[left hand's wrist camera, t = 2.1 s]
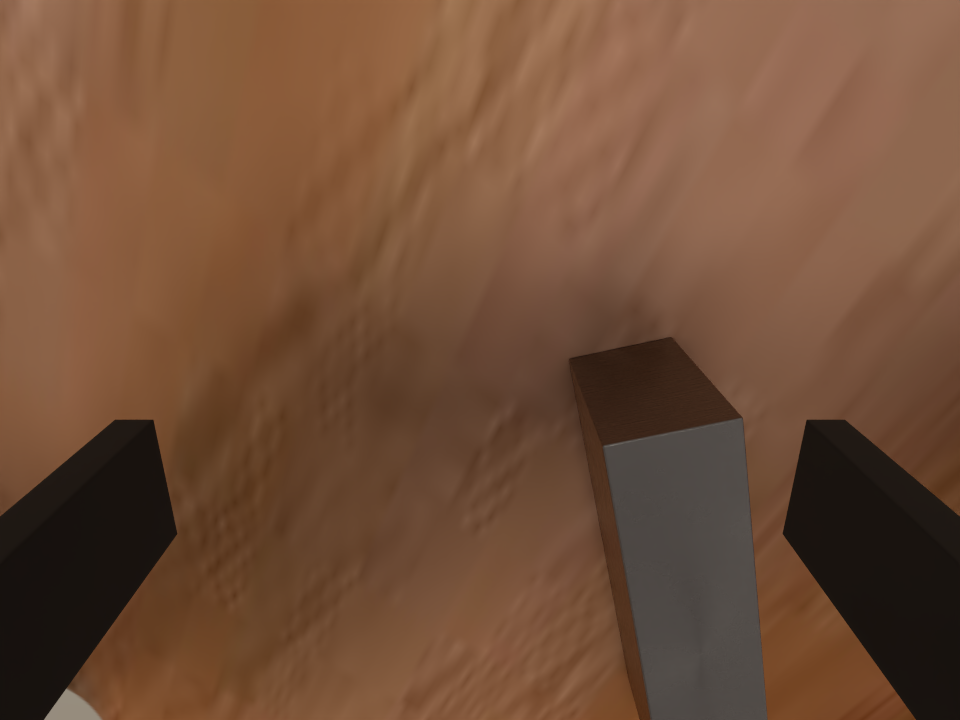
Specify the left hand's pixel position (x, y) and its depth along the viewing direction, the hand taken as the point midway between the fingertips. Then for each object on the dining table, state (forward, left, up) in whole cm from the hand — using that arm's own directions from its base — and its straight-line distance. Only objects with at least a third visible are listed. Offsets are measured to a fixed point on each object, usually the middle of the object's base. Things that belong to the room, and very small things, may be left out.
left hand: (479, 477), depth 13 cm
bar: (-8, -17, -20) cm, 28 cm away
